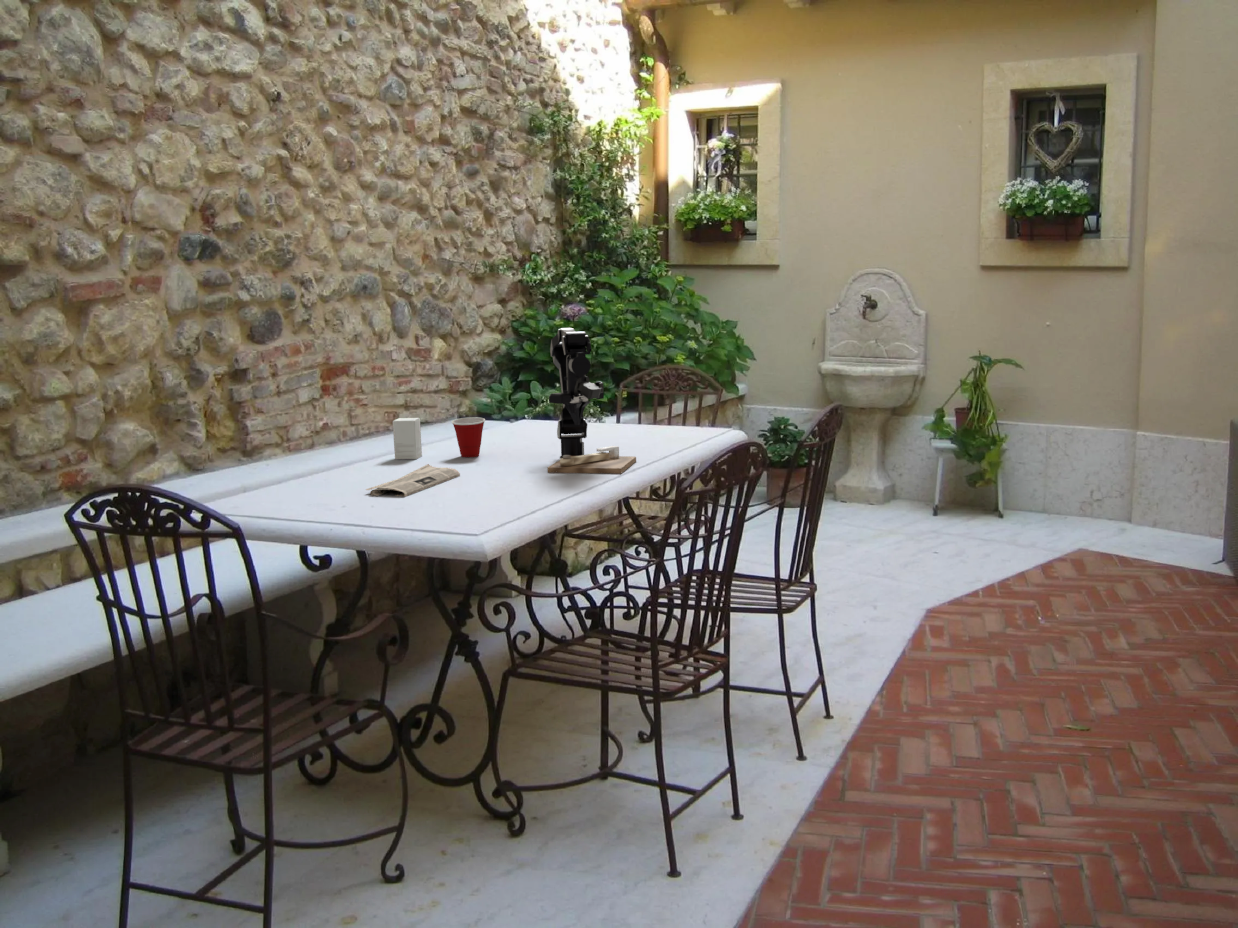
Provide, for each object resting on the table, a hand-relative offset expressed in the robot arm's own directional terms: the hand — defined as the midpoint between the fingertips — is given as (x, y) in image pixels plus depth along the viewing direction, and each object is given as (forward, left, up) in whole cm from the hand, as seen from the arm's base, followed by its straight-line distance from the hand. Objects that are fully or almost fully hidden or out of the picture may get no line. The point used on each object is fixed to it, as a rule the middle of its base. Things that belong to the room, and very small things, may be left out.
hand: (577, 424), depth 359 cm
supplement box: (-58, +7, -12) cm, 60 cm away
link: (+4, -8, -10) cm, 14 cm away
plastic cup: (-39, +12, -12) cm, 43 cm away
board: (+6, -6, -12) cm, 15 cm away
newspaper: (-37, -41, -13) cm, 57 cm away
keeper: (+9, +1, -10) cm, 14 cm away
